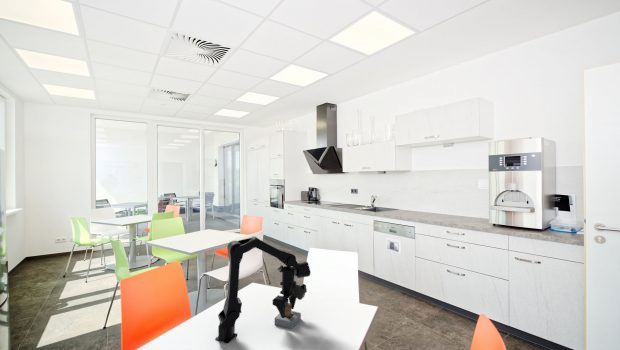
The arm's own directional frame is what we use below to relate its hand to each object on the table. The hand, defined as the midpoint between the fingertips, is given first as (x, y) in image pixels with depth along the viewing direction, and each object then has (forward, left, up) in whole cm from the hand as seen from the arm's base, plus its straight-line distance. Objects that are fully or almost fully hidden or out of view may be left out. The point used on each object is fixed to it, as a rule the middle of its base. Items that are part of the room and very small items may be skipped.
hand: (287, 313), depth 127 cm
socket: (0, 0, -4) cm, 4 cm away
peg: (0, 0, -4) cm, 4 cm away
